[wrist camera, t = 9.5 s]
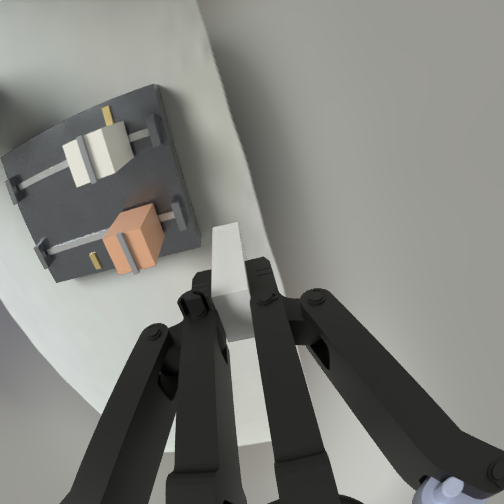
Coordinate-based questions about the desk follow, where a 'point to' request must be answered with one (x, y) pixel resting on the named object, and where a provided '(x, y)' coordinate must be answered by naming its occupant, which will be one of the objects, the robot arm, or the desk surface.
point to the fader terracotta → (135, 239)
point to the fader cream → (98, 153)
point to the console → (100, 186)
